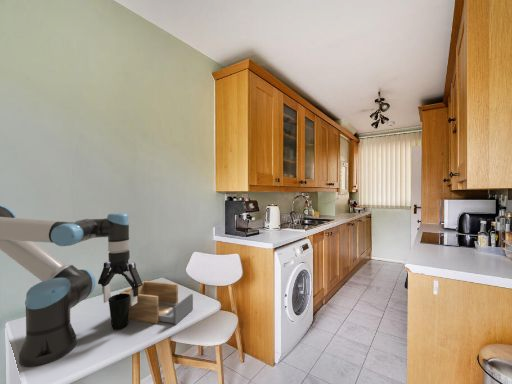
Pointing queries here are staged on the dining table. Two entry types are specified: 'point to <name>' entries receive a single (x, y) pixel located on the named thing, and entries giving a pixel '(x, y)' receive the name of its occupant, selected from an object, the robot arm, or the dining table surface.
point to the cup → (119, 310)
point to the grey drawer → (175, 310)
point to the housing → (151, 300)
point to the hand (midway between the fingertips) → (120, 302)
